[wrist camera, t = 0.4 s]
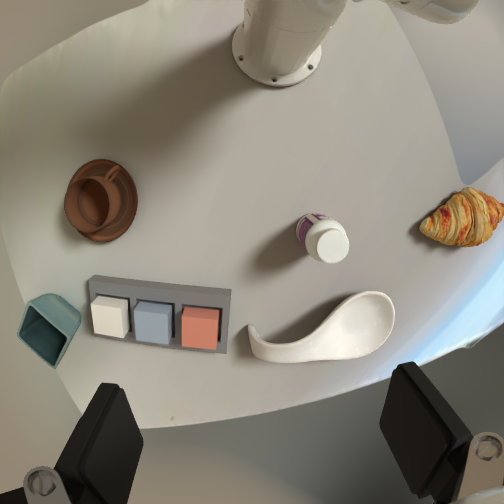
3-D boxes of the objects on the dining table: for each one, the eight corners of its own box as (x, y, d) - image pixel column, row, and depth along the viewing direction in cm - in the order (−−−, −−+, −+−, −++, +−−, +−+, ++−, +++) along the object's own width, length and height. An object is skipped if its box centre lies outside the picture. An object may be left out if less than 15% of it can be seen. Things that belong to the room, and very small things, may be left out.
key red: (185, 306, 44) (181, 316, 41) (219, 310, 44) (217, 319, 41) (185, 335, 45) (181, 346, 42) (217, 339, 45) (216, 349, 42)
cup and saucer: (83, 150, 39) (62, 149, 33) (152, 172, 40) (138, 173, 35) (65, 224, 42) (44, 233, 36) (129, 249, 43) (114, 262, 37)
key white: (98, 295, 43) (90, 303, 40) (127, 299, 43) (120, 308, 40) (101, 323, 44) (94, 332, 41) (129, 328, 44) (123, 338, 41)
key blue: (139, 301, 43) (133, 310, 40) (171, 305, 43) (167, 314, 40) (141, 330, 44) (136, 340, 42) (172, 334, 45) (168, 344, 42)
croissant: (406, 239, 48) (428, 272, 42) (414, 191, 41) (442, 223, 35) (488, 216, 47) (510, 243, 41) (500, 174, 40) (527, 200, 34)
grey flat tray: (94, 274, 44) (88, 280, 42) (231, 289, 45) (230, 295, 43) (100, 329, 47) (95, 336, 44) (226, 345, 48) (226, 353, 46)
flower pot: (55, 279, 44) (27, 300, 35) (93, 311, 46) (70, 338, 37) (41, 313, 46) (15, 336, 37) (76, 342, 47) (55, 370, 39)
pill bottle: (307, 255, 44) (324, 278, 35) (288, 225, 43) (301, 241, 34) (338, 234, 44) (362, 253, 34) (319, 204, 42) (341, 215, 33)
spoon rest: (386, 276, 46) (407, 293, 39) (386, 336, 49) (403, 358, 42) (242, 305, 46) (242, 328, 40) (255, 365, 50) (257, 392, 43)
